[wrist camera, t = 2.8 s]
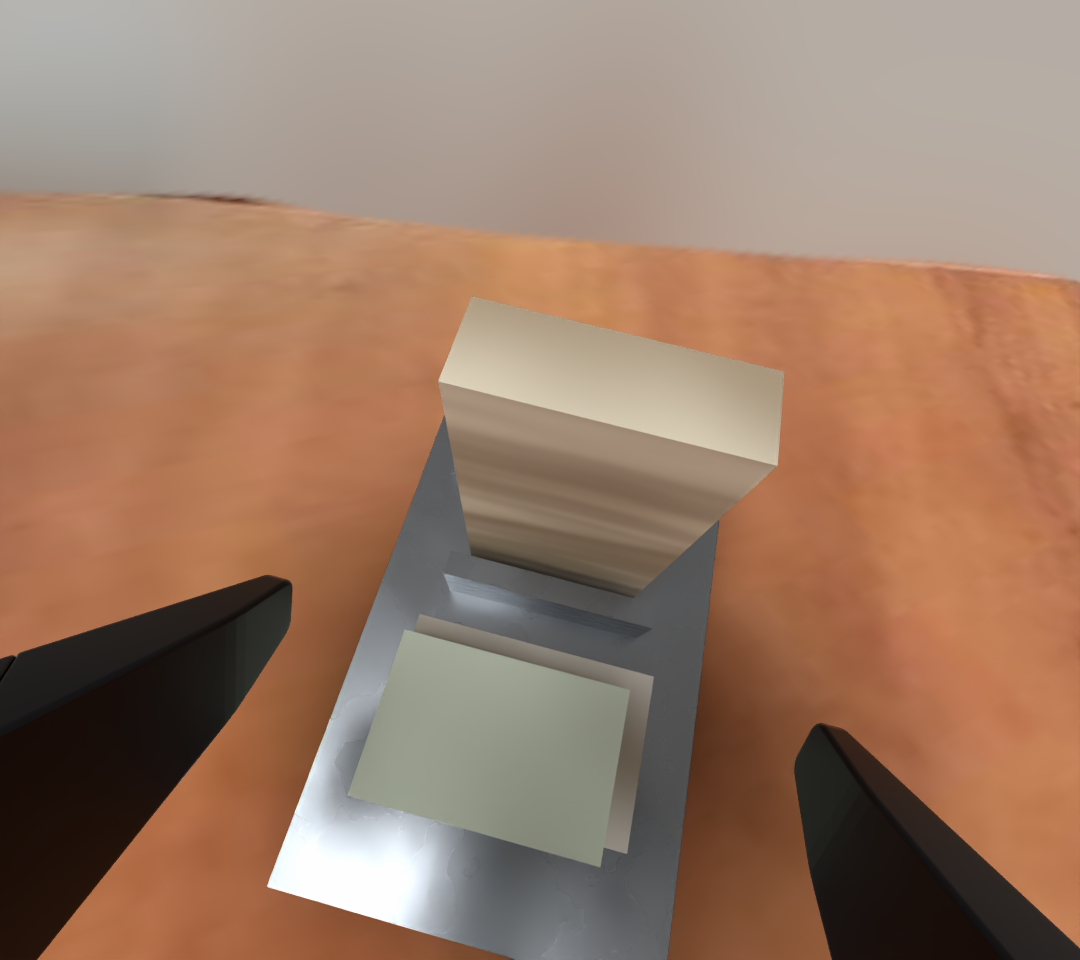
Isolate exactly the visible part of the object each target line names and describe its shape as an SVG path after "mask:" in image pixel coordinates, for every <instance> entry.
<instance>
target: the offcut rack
mask: <svg viewBox="0 0 1080 960" xmlns="http://www.w3.org/2000/svg"><path fill="white" fill-rule="evenodd" d="M718 526H719V520H718V521H717V522H716V523H715V524H714V525H713V526H711V527H710V528H709V529H708V530H707V531H706V532H705V533H704V534H703V535H702V536H701V537H699V538H698V539H697V540H696V541H695V542H694V543H693V544H692V545H691V546H690V547H689V548H687V549H686V550H685V551H684V552H683V553H682V554H681V555H680V556H679V557H678V558H677V559H676V560H674V561H673V562H672V563H671V564H670V565H669V566H668V567H667V568H666V569H665V570H664V571H662V572H661V573H660V574H659V575H658V576H657V577H656V578H655V579H654V580H653V581H652V582H650V583H649V584H648V585H647V586H646V587H645V588H644V589H643V590H642V591H641V592H640V593H639V594H637V595H636V596H635V597H634V598H631V597H627V596H623V595H620V594H616V593H612V592H608V591H604V590H600V589H597V588H593V587H589V586H585V585H581V584H578V583H574V582H570V581H566V580H562V579H559V578H555V577H551V576H547V575H543V574H539V573H536V572H532V571H528V570H524V569H520V568H517V567H513V566H509V565H505V564H501V563H497V562H494V561H490V560H486V559H482V558H478V557H475V556H471V551H470V546H469V541H468V535H467V530H466V525H465V520H464V514H463V509H462V504H461V498H460V493H459V488H458V483H457V477H456V472H455V467H454V461H453V456H452V451H451V446H450V440H449V435H448V430H447V425H446V419H445V415H444V418H443V420H442V423H441V425H440V428H439V431H438V433H437V436H436V439H435V441H434V444H433V447H432V449H431V452H430V455H429V457H428V460H427V463H426V465H425V468H424V471H423V473H422V476H421V479H420V481H419V484H418V487H417V489H416V492H415V495H414V497H413V500H412V503H411V505H410V508H409V511H408V513H407V516H406V519H405V521H404V524H403V526H402V529H401V532H400V534H399V537H398V540H397V542H396V545H395V548H394V550H393V553H392V556H391V558H390V561H389V564H388V566H387V569H386V572H385V574H384V577H383V580H382V582H381V585H380V588H379V590H378V593H377V596H376V598H375V601H374V604H373V606H372V609H371V612H370V614H369V617H368V620H367V622H366V625H365V627H364V630H363V633H362V635H361V638H360V641H359V643H358V646H357V649H356V651H355V654H354V657H353V659H352V662H351V665H350V667H349V670H348V673H347V675H346V678H345V681H344V683H343V686H342V689H341V691H340V694H339V697H338V699H337V702H336V705H335V707H334V710H333V713H332V715H331V718H330V721H329V723H328V726H327V728H326V731H325V734H324V736H323V739H322V742H321V744H320V747H319V750H318V752H317V755H316V758H315V760H314V763H313V766H312V768H311V771H310V774H309V776H308V779H307V782H306V784H305V787H304V790H303V792H302V795H301V798H300V800H299V803H298V806H297V808H296V811H295V814H294V816H293V819H292V822H291V824H290V827H289V829H288V832H287V835H286V837H285V840H284V843H283V845H282V848H281V851H280V853H279V856H278V859H277V861H276V864H275V867H274V869H273V872H272V875H271V877H270V880H269V883H268V885H267V887H270V888H273V889H277V890H280V891H283V892H287V893H290V894H294V895H297V896H300V897H304V898H307V899H311V900H314V901H318V902H321V903H324V904H328V905H331V906H335V907H338V908H341V909H345V910H348V911H352V912H355V913H359V914H362V915H365V916H369V917H372V918H376V919H379V920H382V921H386V922H389V923H393V924H396V925H399V926H403V927H406V928H410V929H413V930H417V931H420V932H423V933H427V934H430V935H434V936H437V937H440V938H444V939H447V940H451V941H454V942H458V943H461V944H464V945H468V946H471V947H475V948H478V949H481V950H485V951H488V952H492V953H495V954H499V955H502V956H505V957H509V958H512V959H516V960H667V958H668V950H669V941H670V933H671V924H672V916H673V907H674V899H675V890H676V882H677V873H678V865H679V856H680V848H681V839H682V831H683V822H684V814H685V805H686V797H687V788H688V780H689V771H690V763H691V754H692V746H693V738H694V729H695V721H696V712H697V704H698V695H699V687H700V678H701V670H702V661H703V653H704V644H705V636H706V627H707V619H708V610H709V602H710V593H711V585H712V576H713V568H714V559H715V551H716V542H717V534H718ZM419 614H422V615H425V616H429V617H433V618H437V619H440V620H444V621H448V622H452V623H455V624H459V625H463V626H467V627H470V628H474V629H478V630H481V631H485V632H489V633H493V634H496V635H500V636H504V637H508V638H511V639H515V640H519V641H523V642H526V643H530V644H534V645H538V646H541V647H545V648H549V649H552V650H556V651H560V652H564V653H567V654H571V655H575V656H579V657H582V658H586V659H590V660H594V661H597V662H601V663H605V664H608V665H612V666H616V667H620V668H623V669H627V670H631V671H635V672H638V673H642V674H646V675H650V676H653V677H654V679H653V686H652V693H651V699H650V706H649V712H648V719H647V726H646V732H645V739H644V745H643V752H642V758H641V765H640V772H639V778H638V785H637V791H636V798H635V804H634V811H633V818H632V824H631V831H630V837H629V844H628V851H627V854H625V853H622V852H618V851H615V850H611V849H607V848H604V849H603V855H602V861H601V867H597V866H594V865H590V864H587V863H583V862H580V861H576V860H572V859H569V858H565V857H562V856H558V855H555V854H551V853H548V852H544V851H541V850H537V849H534V848H530V847H527V846H523V845H520V844H516V843H513V842H509V841H506V840H502V839H498V838H495V837H491V836H488V835H484V834H481V833H477V832H474V831H470V830H467V829H463V828H460V827H456V826H453V825H449V824H446V823H442V822H439V821H435V820H432V819H428V818H424V817H421V816H417V815H414V814H410V813H407V812H403V811H400V810H396V809H393V808H389V807H386V806H382V805H379V804H375V803H372V802H368V801H365V800H361V799H358V798H354V797H350V796H347V795H348V792H349V789H350V786H351V783H352V780H353V777H354V774H355V772H356V769H357V766H358V763H359V760H360V757H361V754H362V751H363V748H364V746H365V743H366V740H367V737H368V734H369V731H370V728H371V725H372V722H373V719H374V717H375V714H376V711H377V708H378V705H379V702H380V699H381V696H382V693H383V691H384V688H385V685H386V682H387V679H388V676H389V673H390V670H391V667H392V664H393V662H394V659H395V656H396V653H397V650H398V647H399V644H400V641H401V638H402V636H403V633H404V630H409V631H412V632H414V629H415V626H416V623H417V620H418V617H419Z"/></svg>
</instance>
